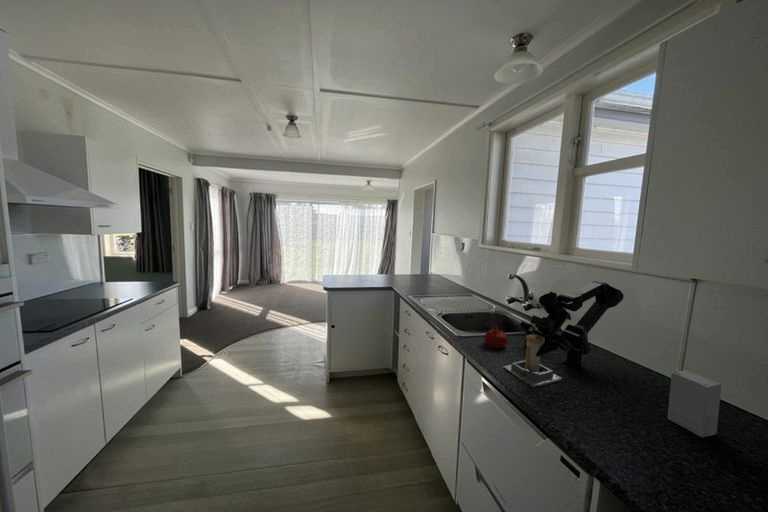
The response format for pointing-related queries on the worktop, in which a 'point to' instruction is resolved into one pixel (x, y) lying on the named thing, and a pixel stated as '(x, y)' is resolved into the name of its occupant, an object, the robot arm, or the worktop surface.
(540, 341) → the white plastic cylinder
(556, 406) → the worktop surface
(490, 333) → the pomegranate
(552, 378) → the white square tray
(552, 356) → the worktop surface
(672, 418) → the skincare box
